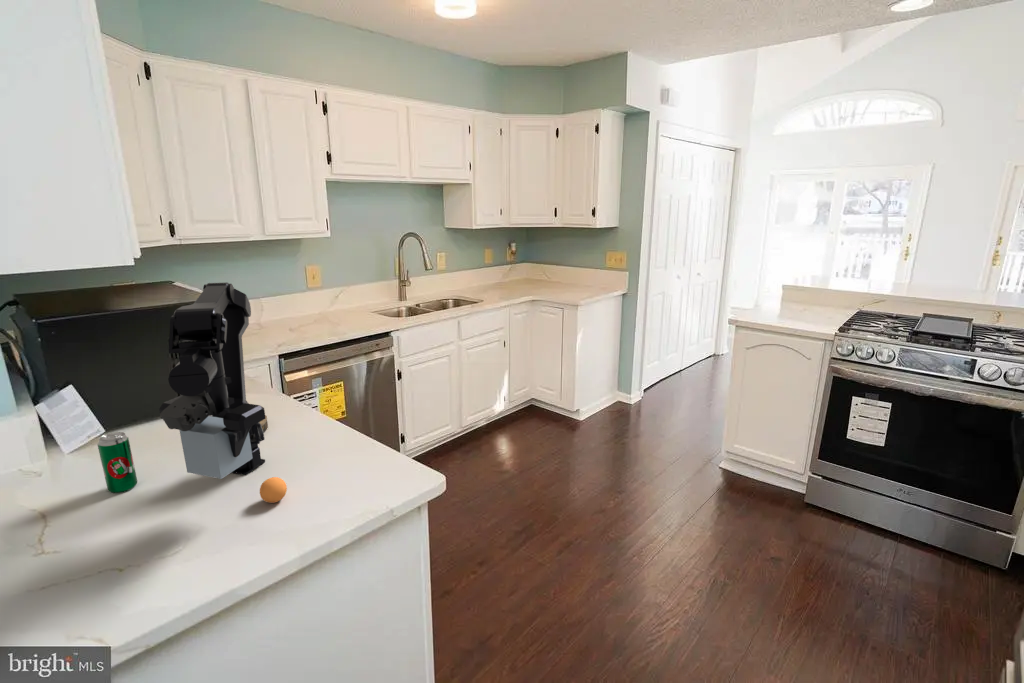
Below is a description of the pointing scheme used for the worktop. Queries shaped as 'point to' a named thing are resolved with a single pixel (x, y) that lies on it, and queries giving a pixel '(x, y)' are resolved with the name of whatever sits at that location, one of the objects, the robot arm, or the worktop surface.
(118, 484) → the soda can
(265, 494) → the ball
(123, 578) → the worktop surface
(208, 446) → the matte gray cuboid
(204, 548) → the worktop surface
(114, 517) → the worktop surface
